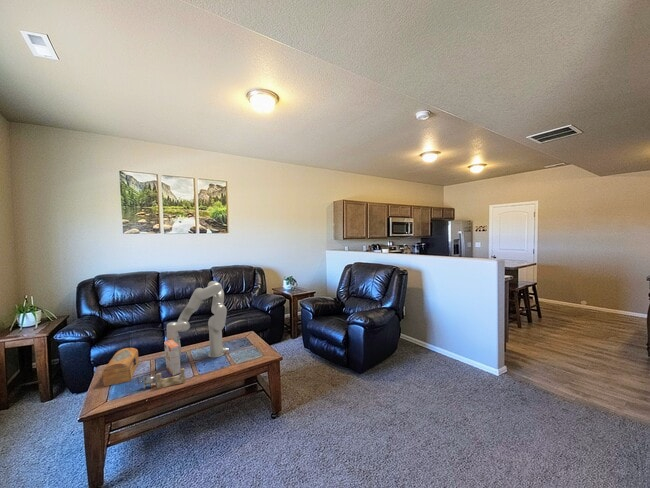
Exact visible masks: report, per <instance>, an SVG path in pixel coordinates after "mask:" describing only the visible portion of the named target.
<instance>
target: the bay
mask: <svg viewBox="0 0 650 488" xmlns="http://www.w3.org/2000/svg"><path fill="white" fill-rule="evenodd" d="M156 374H157V387H156V388H157V390H158V389H162V388H166V387H170V386H173V385H174V386H175V385H179V384H185V383H186V373H185V368H183V367H182V368H181V373H180V374H177V375H174V376H169V377H166V378H162V373H161V372H159V373H156Z"/></svg>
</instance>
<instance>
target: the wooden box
mask: <svg viewBox="0 0 650 488" xmlns="http://www.w3.org/2000/svg"><path fill="white" fill-rule="evenodd" d="M138 364H139V351H138V349H137V348H135V347H125V348H122V349H119V350H117V352H115V354H114V355H113V356H112V358H111V359H110V360H109V361H108V363H107V364H106V366H105V367H104V369H103V371H102V381H103V386H104V387H109V386H113V385H118V384H124V383H128V382H131V381H132V379H133V377H134V374H135V372H136V369H137V367H138Z"/></svg>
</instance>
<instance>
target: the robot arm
mask: <svg viewBox="0 0 650 488" xmlns="http://www.w3.org/2000/svg"><path fill="white" fill-rule="evenodd" d="M211 297H212V302H211V313H212V314H213V315H211V317H209V319H208V322H207V325H208V326H207V327H208V332H209V335H208V336H209V352H208V354H207V356H208V357H209V358H219V357H222V356H224V355H225V353H226V352H227V351H229V347H223V332H222V331H223V329H224V327H225V326H226V320H227V314H228V309H227V307H226V306H225V304H224V302H225V301H224V300H225V292H224V289H223V286H222V283H220V282H218V281H214V280H211V281H209V282H208V284H207V287H204V288H202V287H197V288H195V289H194V291H193V293H192V294H191V297H189V298H190V299H189V301H188V303H187V304H186V306H185V307H184V309H183V310H182V311H181V313H180V315H179V317H178V319H177V321H171V322H167V324H166V341H168V340H171V339H172V340H173V341H174V342H176V343H177V344H178V345H179V353H180V356H181V355H182V346H181V340H180V339H181V335H180V336H179V333H180V332H187V331H188V330H190V328H191V324H190V322H189V320H190V318H191V316H192V315H193V314H194V313H195V312H197V311H198V310H199V307H200V306H201V304H202V301H205V300H208V299H210V298H211Z"/></svg>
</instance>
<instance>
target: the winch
mask: <svg viewBox="0 0 650 488" xmlns="http://www.w3.org/2000/svg"><path fill="white" fill-rule="evenodd" d="M157 374H158V373H156V374H154V375H149V376H146V375H144V376H143V378H142V380H141V381H140V376H137V379H136V380H137V382H136V383H137V385H139V384H143V387H142V388H143V390H146V385H151V384H155V387H156V388H158V387H157Z"/></svg>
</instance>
